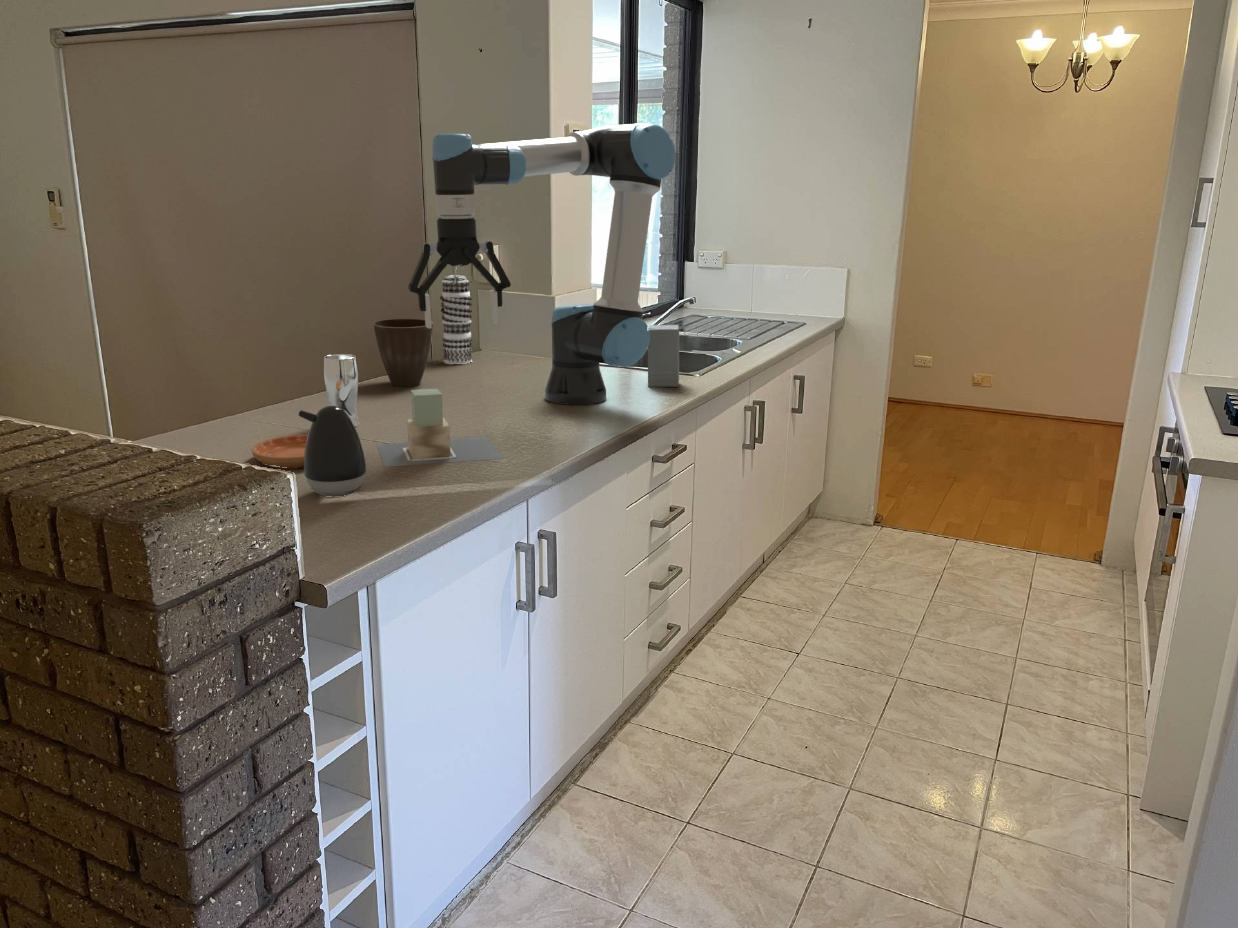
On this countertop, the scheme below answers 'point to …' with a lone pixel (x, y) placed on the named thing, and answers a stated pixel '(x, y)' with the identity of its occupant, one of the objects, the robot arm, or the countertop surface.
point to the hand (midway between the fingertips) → (462, 325)
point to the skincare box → (663, 356)
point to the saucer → (281, 451)
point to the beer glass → (342, 383)
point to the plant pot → (403, 349)
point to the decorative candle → (456, 319)
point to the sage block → (427, 407)
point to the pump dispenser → (333, 453)
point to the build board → (458, 453)
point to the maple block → (428, 440)
